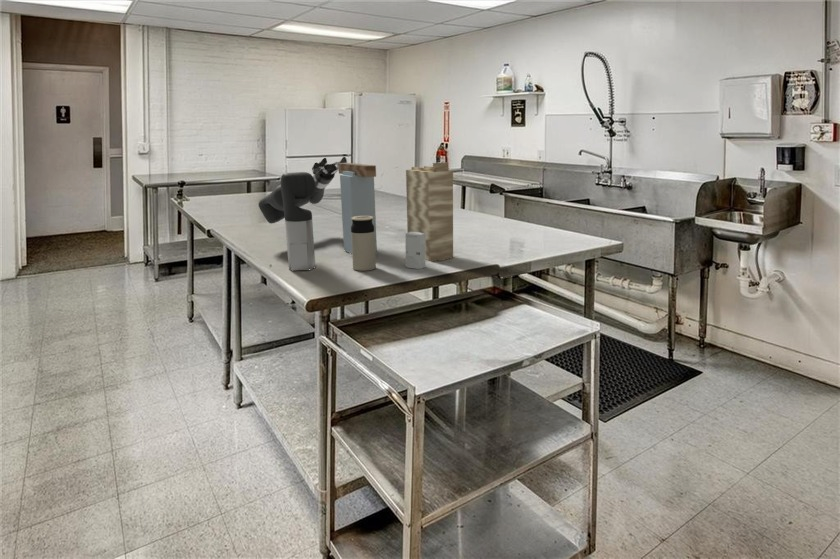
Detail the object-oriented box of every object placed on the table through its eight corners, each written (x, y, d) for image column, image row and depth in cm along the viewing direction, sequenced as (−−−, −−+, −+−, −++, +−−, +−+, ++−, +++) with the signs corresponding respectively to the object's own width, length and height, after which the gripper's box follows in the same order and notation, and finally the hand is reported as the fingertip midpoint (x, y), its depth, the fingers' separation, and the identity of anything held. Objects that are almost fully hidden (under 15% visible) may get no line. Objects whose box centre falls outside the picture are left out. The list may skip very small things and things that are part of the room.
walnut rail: (376, 176, 205) (375, 165, 204) (366, 177, 203) (365, 166, 202) (348, 172, 225) (347, 162, 224) (338, 173, 223) (338, 163, 222)
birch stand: (453, 257, 208) (452, 162, 199) (430, 261, 203) (429, 163, 194) (429, 250, 221) (428, 160, 212) (408, 253, 216) (405, 161, 207)
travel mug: (380, 268, 195) (378, 216, 190) (363, 272, 189) (361, 219, 185) (365, 264, 200) (362, 214, 195) (348, 269, 194) (345, 217, 190)
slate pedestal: (376, 251, 220) (373, 170, 212) (354, 255, 215) (349, 172, 207) (366, 248, 228) (363, 169, 219) (344, 251, 223) (339, 171, 214)
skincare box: (405, 267, 195) (404, 233, 192) (411, 264, 199) (410, 231, 196) (420, 269, 192) (419, 234, 189) (426, 266, 196) (426, 232, 193)
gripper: (305, 169, 238) (316, 151, 224) (336, 168, 245) (349, 150, 232) (309, 185, 237) (321, 168, 223) (340, 183, 244) (353, 166, 231)
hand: (335, 159), depth 227 cm, fingers open, 8 cm apart
